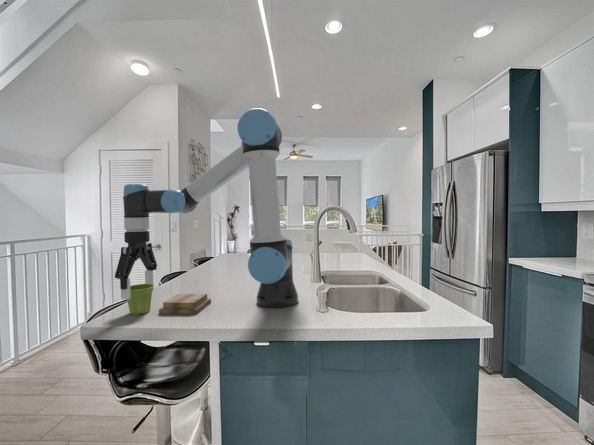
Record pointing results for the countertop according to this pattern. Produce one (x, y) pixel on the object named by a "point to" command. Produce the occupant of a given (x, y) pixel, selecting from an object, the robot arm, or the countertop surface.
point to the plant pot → (140, 298)
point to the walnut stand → (185, 304)
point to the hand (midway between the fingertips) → (138, 293)
